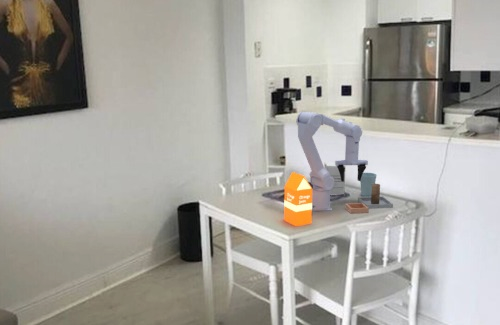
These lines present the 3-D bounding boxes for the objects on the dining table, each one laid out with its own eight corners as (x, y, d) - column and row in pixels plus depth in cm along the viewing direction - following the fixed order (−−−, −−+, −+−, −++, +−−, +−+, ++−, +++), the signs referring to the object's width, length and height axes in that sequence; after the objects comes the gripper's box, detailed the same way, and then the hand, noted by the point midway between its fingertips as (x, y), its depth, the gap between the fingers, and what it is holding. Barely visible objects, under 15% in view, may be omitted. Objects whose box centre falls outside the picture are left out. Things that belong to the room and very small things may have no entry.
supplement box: (323, 191, 257) (324, 161, 254) (341, 191, 257) (342, 161, 254) (325, 196, 248) (326, 165, 245) (344, 196, 248) (345, 165, 245)
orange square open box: (350, 214, 221) (350, 208, 220) (345, 209, 228) (345, 203, 228) (368, 214, 221) (368, 208, 221) (362, 208, 229) (362, 202, 228)
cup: (378, 196, 248) (379, 175, 245) (365, 198, 245) (366, 176, 242) (369, 192, 254) (369, 171, 252) (356, 194, 251) (356, 173, 249)
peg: (372, 205, 232) (372, 185, 230) (370, 203, 235) (370, 183, 233) (380, 205, 232) (381, 185, 230) (378, 202, 235) (378, 183, 233)
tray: (366, 209, 227) (366, 204, 227) (357, 201, 239) (357, 197, 239) (392, 208, 229) (393, 203, 228) (382, 201, 240) (383, 196, 240)
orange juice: (299, 217, 218) (300, 170, 213) (311, 223, 210) (313, 175, 206) (283, 220, 214) (284, 172, 210) (295, 226, 206) (296, 177, 202)
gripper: (338, 153, 228) (337, 183, 231) (370, 152, 229) (369, 182, 232) (334, 150, 235) (333, 179, 237) (365, 149, 236) (364, 178, 239)
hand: (350, 180), depth 235 cm, fingers open, 7 cm apart
